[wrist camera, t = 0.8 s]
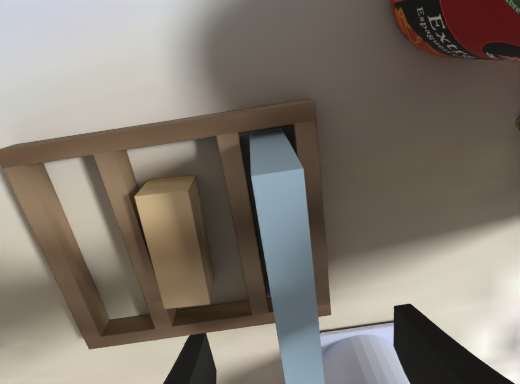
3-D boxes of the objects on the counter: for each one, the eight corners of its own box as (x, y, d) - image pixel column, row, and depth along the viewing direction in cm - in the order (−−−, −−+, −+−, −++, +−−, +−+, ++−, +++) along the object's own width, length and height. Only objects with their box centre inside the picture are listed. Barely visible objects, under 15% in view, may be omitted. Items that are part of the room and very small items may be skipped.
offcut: (214, 275, 23) (210, 304, 21) (174, 280, 23) (164, 309, 21) (195, 173, 20) (188, 190, 18) (149, 178, 20) (134, 196, 18)
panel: (300, 286, 24) (324, 385, 17) (274, 289, 24) (286, 391, 17) (281, 128, 19) (303, 168, 12) (249, 133, 19) (251, 176, 12)
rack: (326, 299, 24) (331, 314, 23) (98, 332, 25) (89, 349, 23) (309, 98, 19) (314, 101, 17) (14, 144, 19) (-6, 151, 18)
